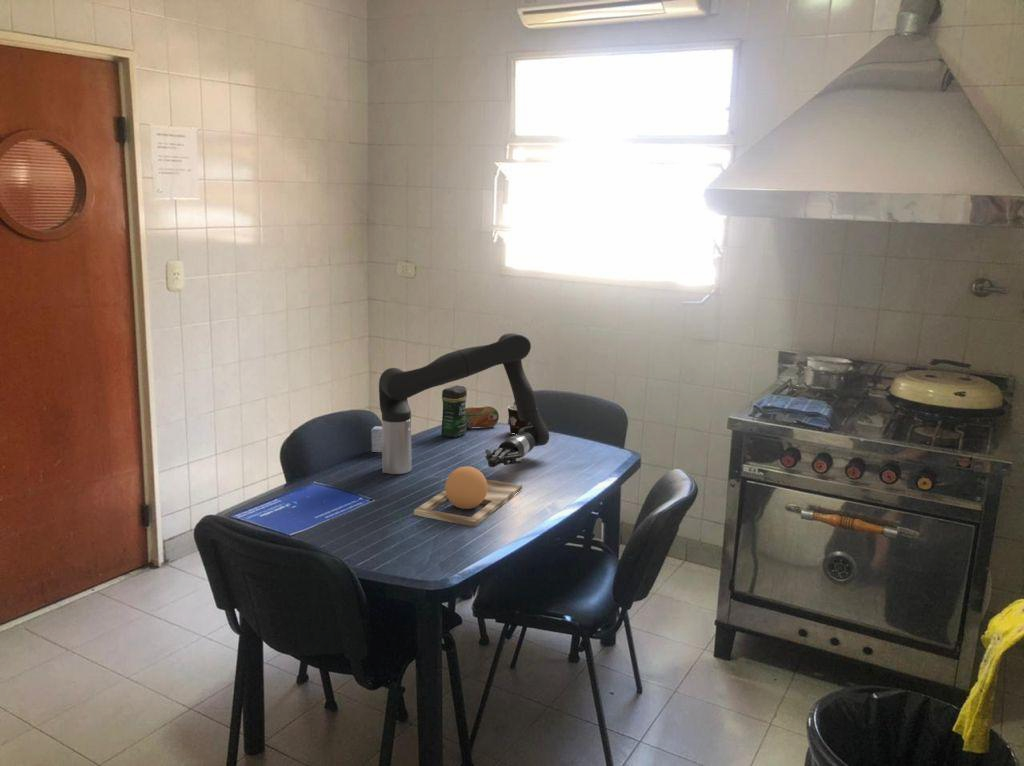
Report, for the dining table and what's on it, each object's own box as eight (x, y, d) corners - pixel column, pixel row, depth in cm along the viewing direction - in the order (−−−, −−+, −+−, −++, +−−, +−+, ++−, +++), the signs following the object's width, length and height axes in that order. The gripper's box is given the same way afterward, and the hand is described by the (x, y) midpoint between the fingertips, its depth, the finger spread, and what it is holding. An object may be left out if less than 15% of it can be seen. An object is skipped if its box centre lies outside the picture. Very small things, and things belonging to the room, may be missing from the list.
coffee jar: (456, 439, 296) (456, 390, 292) (438, 436, 300) (438, 387, 296) (470, 433, 304) (470, 385, 300) (452, 430, 308) (452, 383, 304)
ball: (473, 483, 239) (457, 518, 232) (446, 460, 233) (430, 495, 227) (501, 480, 231) (486, 516, 224) (475, 456, 225) (458, 492, 218)
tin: (460, 429, 309) (461, 408, 308) (459, 427, 312) (459, 406, 311) (498, 427, 313) (499, 406, 312) (496, 425, 316) (497, 404, 315)
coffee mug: (503, 431, 308) (504, 405, 306) (524, 428, 312) (524, 403, 310) (516, 439, 298) (517, 413, 296) (537, 436, 301) (538, 411, 299)
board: (466, 480, 252) (466, 476, 252) (521, 489, 245) (522, 485, 245) (413, 515, 224) (413, 509, 223) (475, 526, 216) (475, 521, 216)
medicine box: (397, 450, 282) (396, 426, 280) (394, 454, 277) (393, 430, 276) (375, 449, 283) (374, 425, 281) (371, 453, 278) (371, 429, 276)
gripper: (495, 435, 262) (471, 449, 247) (533, 440, 257) (511, 455, 242) (495, 457, 264) (471, 472, 249) (532, 462, 259) (510, 479, 243)
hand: (491, 464), depth 245 cm, fingers closed
